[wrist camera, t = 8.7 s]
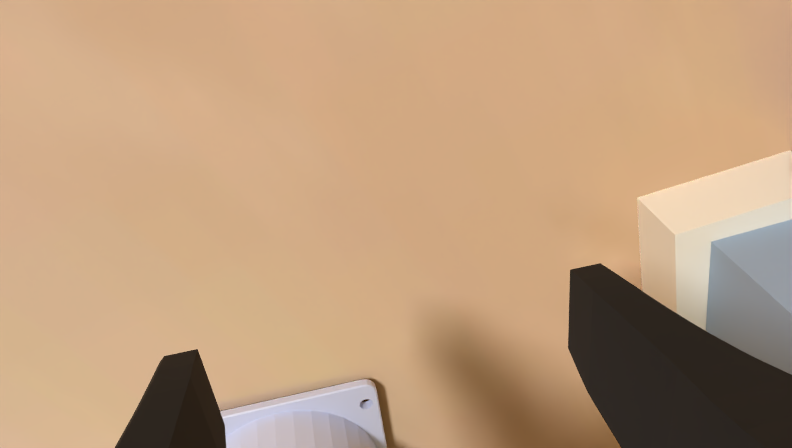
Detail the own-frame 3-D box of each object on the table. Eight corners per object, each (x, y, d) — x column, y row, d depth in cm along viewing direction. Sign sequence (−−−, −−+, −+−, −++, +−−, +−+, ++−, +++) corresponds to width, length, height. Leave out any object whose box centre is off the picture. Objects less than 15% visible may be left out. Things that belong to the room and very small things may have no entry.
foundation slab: (774, 270, 30) (824, 314, 27) (639, 313, 30) (677, 361, 27) (783, 146, 27) (841, 182, 24) (632, 193, 26) (674, 235, 24)
